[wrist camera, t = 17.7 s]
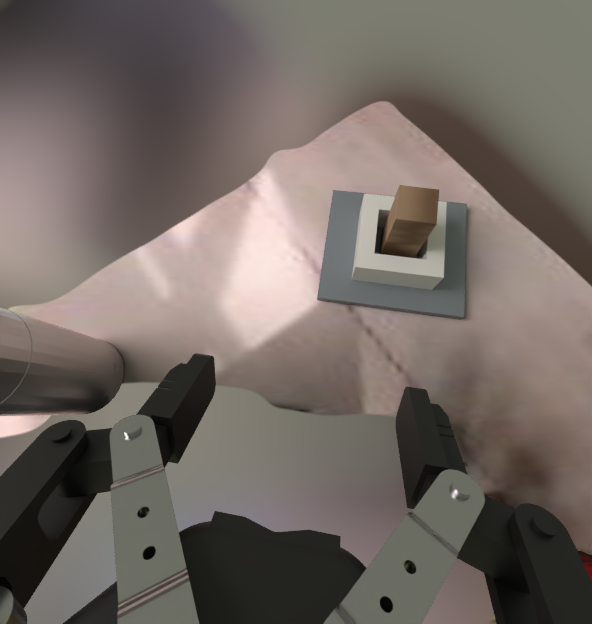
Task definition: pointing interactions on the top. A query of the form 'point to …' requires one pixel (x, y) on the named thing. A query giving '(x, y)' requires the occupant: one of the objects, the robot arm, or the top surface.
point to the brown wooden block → (409, 221)
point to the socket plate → (391, 294)
